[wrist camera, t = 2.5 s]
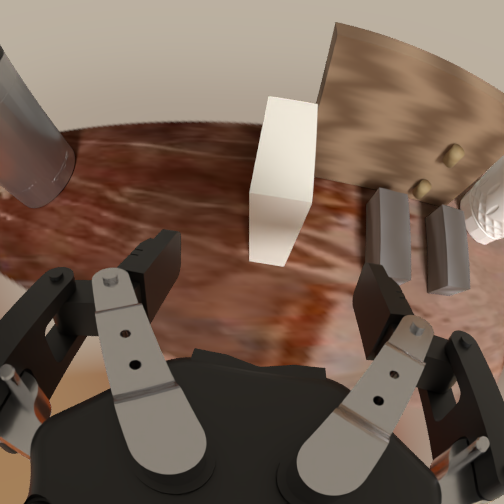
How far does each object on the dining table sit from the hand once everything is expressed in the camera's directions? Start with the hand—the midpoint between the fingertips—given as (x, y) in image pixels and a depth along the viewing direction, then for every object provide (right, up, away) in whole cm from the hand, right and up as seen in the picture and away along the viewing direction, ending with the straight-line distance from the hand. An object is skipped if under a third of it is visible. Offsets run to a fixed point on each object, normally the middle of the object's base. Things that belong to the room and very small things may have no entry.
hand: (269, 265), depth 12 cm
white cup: (+27, +5, +15) cm, 31 cm away
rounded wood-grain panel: (+12, +3, +14) cm, 18 cm away
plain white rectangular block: (+1, +3, +14) cm, 14 cm away
